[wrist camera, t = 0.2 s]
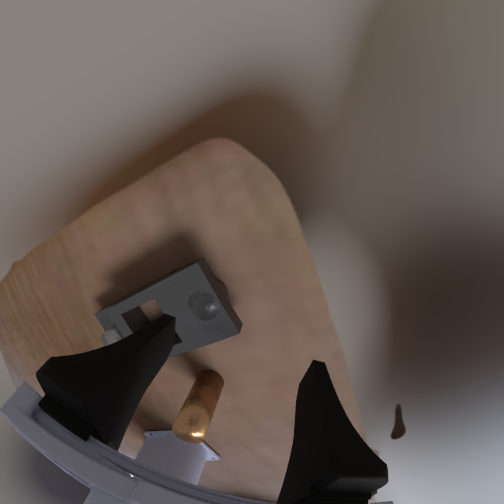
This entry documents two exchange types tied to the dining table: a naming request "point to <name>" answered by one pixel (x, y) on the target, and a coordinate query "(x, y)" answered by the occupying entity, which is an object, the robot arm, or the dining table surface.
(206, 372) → the copper pin
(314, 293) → the dining table surface
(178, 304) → the grey plate with knobs
